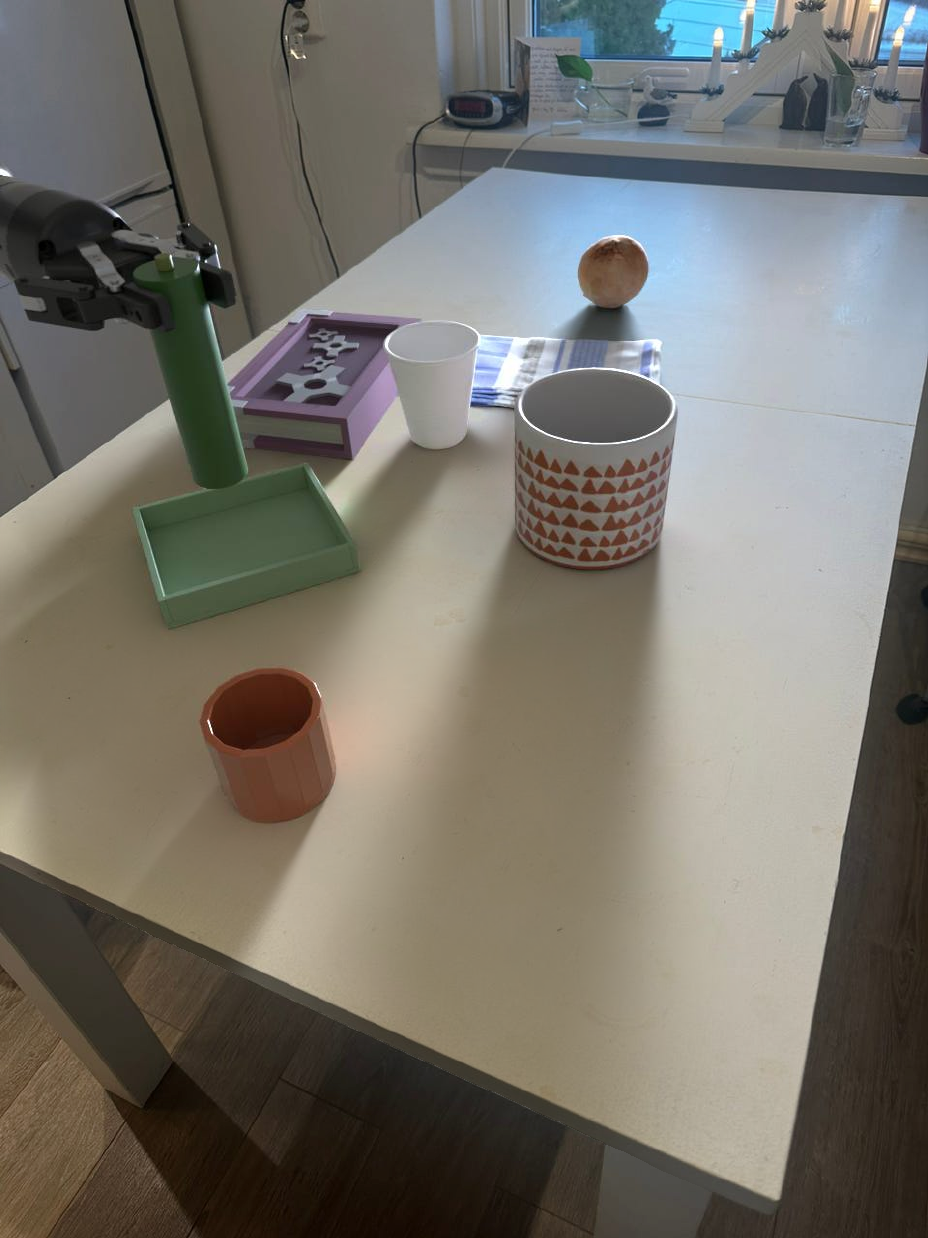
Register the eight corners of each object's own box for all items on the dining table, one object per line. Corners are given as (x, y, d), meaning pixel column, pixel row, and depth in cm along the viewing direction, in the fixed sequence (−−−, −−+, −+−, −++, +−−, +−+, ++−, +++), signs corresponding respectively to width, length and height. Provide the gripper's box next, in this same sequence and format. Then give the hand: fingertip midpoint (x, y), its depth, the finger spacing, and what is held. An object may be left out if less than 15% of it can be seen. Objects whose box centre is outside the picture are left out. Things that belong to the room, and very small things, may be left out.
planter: (554, 589, 75) (558, 461, 67) (492, 506, 85) (488, 386, 77) (690, 548, 79) (711, 422, 70) (616, 473, 88) (626, 355, 80)
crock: (238, 840, 58) (214, 773, 53) (214, 756, 63) (190, 689, 58) (350, 797, 60) (336, 730, 55) (317, 720, 65) (302, 653, 61)
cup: (467, 466, 91) (462, 367, 83) (379, 453, 93) (367, 356, 86) (495, 419, 98) (493, 324, 90) (412, 409, 100) (404, 316, 93)
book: (307, 345, 114) (301, 308, 111) (425, 355, 111) (422, 317, 107) (216, 444, 96) (205, 403, 93) (352, 460, 93) (346, 418, 89)
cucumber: (198, 494, 62) (133, 272, 52) (188, 467, 65) (124, 251, 55) (253, 480, 63) (200, 259, 53) (241, 454, 66) (189, 239, 56)
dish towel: (658, 423, 95) (661, 400, 94) (449, 409, 100) (447, 386, 98) (665, 354, 108) (668, 332, 106) (479, 344, 112) (478, 323, 110)
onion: (603, 335, 120) (593, 281, 111) (571, 294, 124) (559, 239, 115) (664, 300, 119) (659, 243, 111) (630, 260, 124) (622, 203, 115)
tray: (168, 629, 74) (158, 602, 72) (141, 534, 84) (131, 507, 82) (360, 571, 78) (356, 544, 76) (312, 488, 89) (307, 462, 87)
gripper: (-65, 218, 56) (74, 278, 47) (127, 165, 64) (277, 207, 55) (-17, 330, 61) (117, 403, 52) (156, 268, 69) (297, 322, 60)
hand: (198, 302), depth 54 cm, fingers closed on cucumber, 4 cm apart
